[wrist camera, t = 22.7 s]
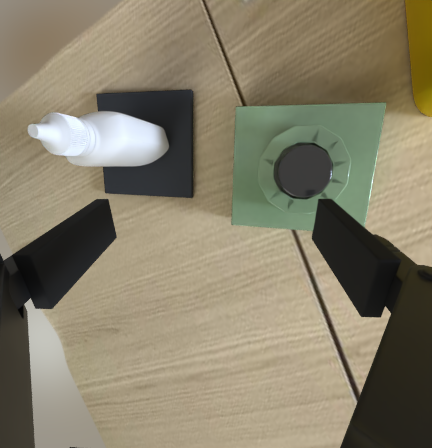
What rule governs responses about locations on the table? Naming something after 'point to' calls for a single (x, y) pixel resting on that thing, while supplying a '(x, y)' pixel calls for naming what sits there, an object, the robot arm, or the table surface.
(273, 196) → the button housing
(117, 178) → the slate mat
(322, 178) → the black round knob
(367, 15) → the table surface
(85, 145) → the eye dropper bottle
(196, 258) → the table surface
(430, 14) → the element tile
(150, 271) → the table surface
